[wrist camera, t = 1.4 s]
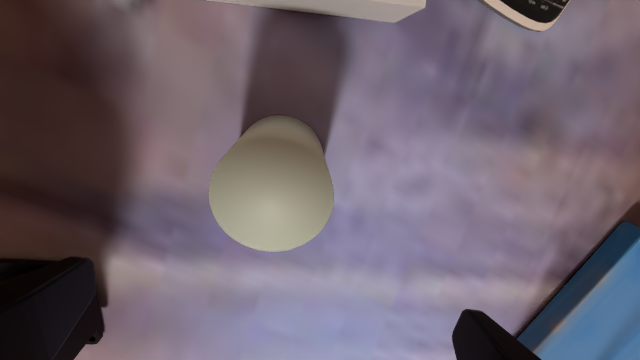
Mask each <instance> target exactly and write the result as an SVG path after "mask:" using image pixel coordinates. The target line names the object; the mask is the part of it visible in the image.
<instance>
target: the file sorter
mask: <svg viewBox="0 0 640 360" xmlns="http://www.w3.org/2000/svg"><path fill="white" fill-rule="evenodd" d="M517 340H518V341H519V342H521V343H522V344H523V345H524V346H526V347H527V348H528V349H529V350H530V351H532V352H533V353H534V354H535V355H537V356H538V357H539V358H540V359H542V360H640V227H638V226H636V225H634V224H631V223H629V222H626V221H624V222H622V223H621V224H620V225H619V226H618V227H617V228H616V229H615V230H614V231H613V233H612V234H611V235H610V236H609V237H608V238H607V239H606V240H605V242H604V243H603V244H602V245H601V246H600V247H599V248H598V250H597V251H596V252H595V253H594V254H593V255H592V256H591V257H590V259H589V260H588V261H587V262H586V263H585V264H584V265H583V266H582V267H581V268H580V270H579V271H578V272H577V273H576V274H575V275H574V276H573V277H572V278H571V279H570V281H569V282H568V283H567V284H566V285H565V286H564V287H563V288H562V290H561V291H560V292H559V293H558V294H557V295H556V296H555V297H554V299H553V300H552V301H551V302H550V303H549V304H548V305H547V306H546V307H545V308H544V310H543V311H542V312H541V313H540V314H539V315H538V316H537V317H536V318H535V319H534V321H533V322H532V323H531V324H530V325H529V326H528V327H527V328H526V329H525V330H524V331H523V333H522V334H521V335H520V336H519V337H518V338H517Z"/></svg>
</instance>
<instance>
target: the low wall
mask: <svg viewBox="0 0 640 360" xmlns="http://www.w3.org/2000/svg"><path fill="white" fill-rule="evenodd" d="M209 1H217V2H225V3H234V4H242V5H250V6H259V7H267V8H275V9H284V10H292V11H300V12H309V13H317V14H325V15H334V16H342V17H350V18H359V19H367V20H375V21H384V22H392V23H395V22H397V21H399V20H401V19H403V18H405V17H407V16H409V15H411V14H413V13H415V12H417V11H419V10H421V9H423V8H425V5H426V0H209Z"/></svg>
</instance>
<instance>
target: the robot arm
mask: <svg viewBox="0 0 640 360" xmlns="http://www.w3.org/2000/svg"><path fill="white" fill-rule="evenodd" d="M96 290H97V282H96V276H95V270H94V264H93V261H92V260H91V259H89V258H82V257H68V258H65V259H63V260H60V261H43V260H18V259H0V360H74V358H75V357H76V356H77V355H78V353H79V352H80V351H81V350H82V348H83V347H84V346H85V344H97V343H98V342H99V341H100V339H101V338H102V337H103V332H102V327H101V320H100V315H99V309H98V304H97V299H96V296H95V293H96ZM452 341H453V346H454V350H455V354H456V358H457V360H542V359H540V358H539V357H538V356H537V355H535V354H534V353H533V352H532V351H530V350H529V349H528V348H527V347H526V346H524V345H523V344H522V343H521V342H519V341H518V340H517V339H516V338H514V337H513V336H512V335H511V334H510V333H508V332H507V331H506V330H505V329H503V328H502V327H501V326H500V325H498V324H497V323H496V322H495V321H494V320H492V319H491V318H490V317H489V316H487V315H486V314H485V313H484V312H482V311H479V310H471V309H465V310H464V311H462V313H461V315H460V317H459V320H458V322H457V324H456V326H455V328H454V330H453V334H452Z"/></svg>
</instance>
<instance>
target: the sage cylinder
mask: <svg viewBox="0 0 640 360" xmlns="http://www.w3.org/2000/svg"><path fill="white" fill-rule="evenodd" d="M209 201H210V206H211V210H212V212H213V215H214V217H215V219H216V220H217V222H218V224H219V225H220V226H221V228H222V229H223V230H224V231H225V232H226V233H227V234H228V235H229V236H230V237H232V238H233V239H234V240H236V241H237V242H239V243H241V244H243V245H245V246H247V247H250V248H253V249H257V250H261V251H270V252H272V251H285V250H289V249H293V248H296V247H299V246H301V245H303V244H305V243H307V242H308V241H310V240H311V239H312V238H314V237H315V236H316V235H317V234H318V233H319V232H320V231H321V230H322V229H323V227H324V226H325V224H326V223H327V221H328V219H329V217H330V214H331V211H332V208H333V202H334V191H333V185H332V180H331V177H330V174H329V170H328V167H327V163H326V160H325V156H324V153H323V150H322V146H321V143H320V141H319V139H318V137H317V135H316V134H315V132H314V131H313V130H312V129H311V128H310V127H309V126H308V125H307V124H305V123H304V122H302V121H301V120H299V119H296V118H294V117H290V116H285V115H274V116H269V117H265V118H263V119H260V120H259V121H257V122H255V123H254V124H253V125H251V126H250V127H249V128H248V129H247V130H246V132H245V133H244V134H243V135H242V136H241V137H240V138H239V140H238V141H237V142H236V143H235V144H234V145H233V146H232V147H231V149H230V150H229V151H228V152H227V153H226V154H225V155H224V157H223V158H222V159H221V160H220V162H219V163H218V164H217V166H216V168H215V170H214V171H213V174H212V177H211V180H210V185H209Z"/></svg>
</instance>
